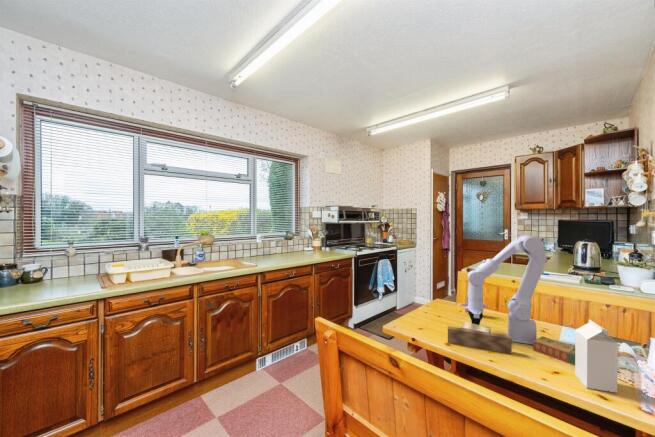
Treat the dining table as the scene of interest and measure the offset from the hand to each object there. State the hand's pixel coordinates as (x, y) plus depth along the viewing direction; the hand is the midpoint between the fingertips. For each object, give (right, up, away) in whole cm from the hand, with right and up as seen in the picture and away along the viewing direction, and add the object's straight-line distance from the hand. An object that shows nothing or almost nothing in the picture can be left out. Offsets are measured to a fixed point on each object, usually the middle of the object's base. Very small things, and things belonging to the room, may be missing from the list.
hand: (475, 328), depth 119 cm
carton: (+22, -3, -20) cm, 29 cm away
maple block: (-2, -3, -5) cm, 6 cm away
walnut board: (-5, -3, -12) cm, 13 cm away
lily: (+11, -2, +21) cm, 24 cm away
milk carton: (+18, -3, -35) cm, 40 cm away
